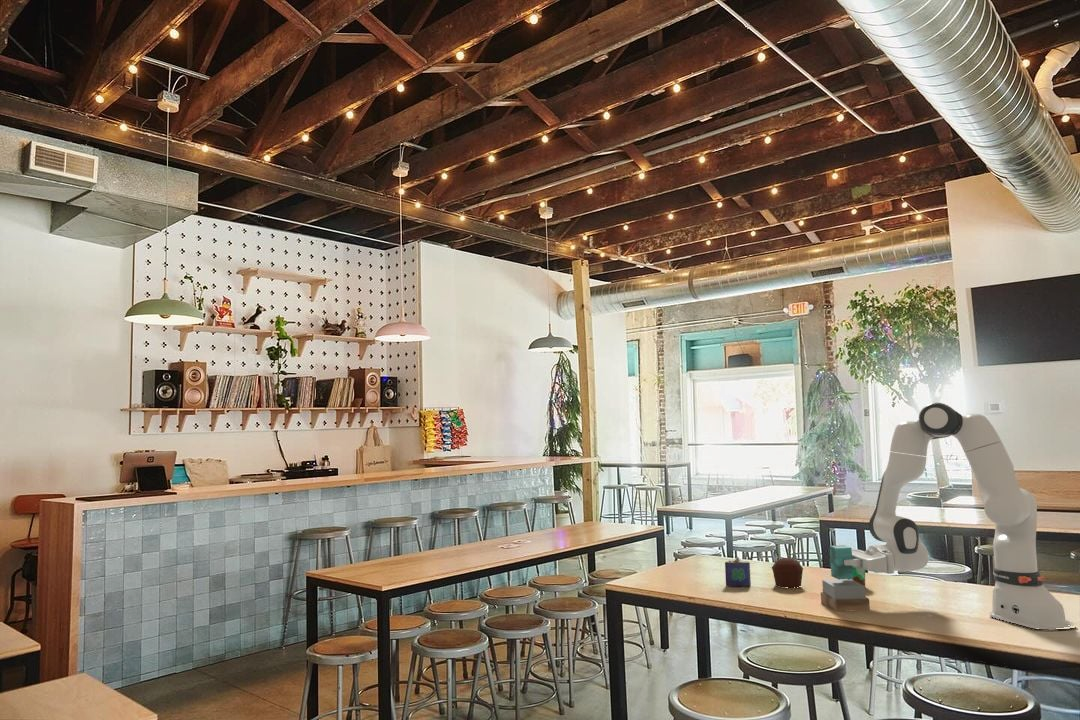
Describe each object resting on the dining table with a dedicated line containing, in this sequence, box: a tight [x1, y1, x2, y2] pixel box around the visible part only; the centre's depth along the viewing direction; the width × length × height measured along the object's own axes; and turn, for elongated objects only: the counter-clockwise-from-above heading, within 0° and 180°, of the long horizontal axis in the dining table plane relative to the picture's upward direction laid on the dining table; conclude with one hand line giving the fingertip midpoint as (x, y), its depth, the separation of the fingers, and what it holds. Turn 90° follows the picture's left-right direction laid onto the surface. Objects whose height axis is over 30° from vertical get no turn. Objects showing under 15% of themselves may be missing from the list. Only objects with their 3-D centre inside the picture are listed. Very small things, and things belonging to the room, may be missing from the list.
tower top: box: [821, 579, 867, 599], centre depth 236 cm, size 10×10×4 cm
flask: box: [724, 556, 752, 588], centre depth 267 cm, size 9×3×11 cm, turn 88°
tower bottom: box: [820, 591, 871, 612], centre depth 236 cm, size 11×11×4 cm
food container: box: [846, 566, 866, 587], centre depth 263 cm, size 12×6×10 cm, turn 168°
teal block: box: [829, 544, 853, 580], centre depth 237 cm, size 5×5×10 cm
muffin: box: [771, 557, 804, 589], centre depth 266 cm, size 12×11×10 cm
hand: (838, 560), depth 237 cm, fingers closed on teal block, 5 cm apart
